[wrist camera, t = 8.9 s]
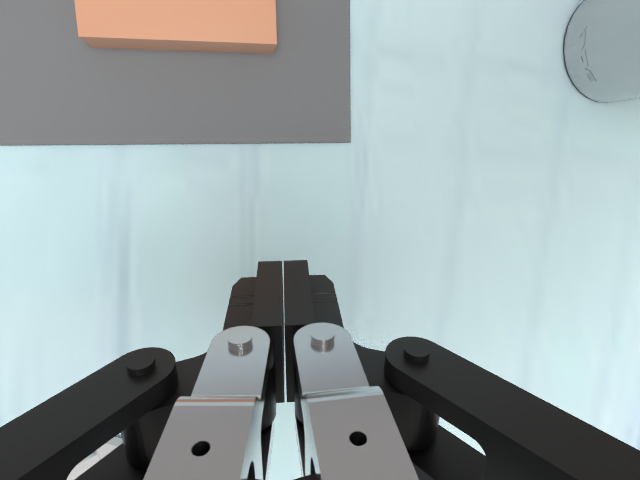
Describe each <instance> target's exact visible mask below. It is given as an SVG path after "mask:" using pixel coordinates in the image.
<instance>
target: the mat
mask: <svg viewBox="0 0 640 480" xmlns="http://www.w3.org/2000/svg"><path fill="white" fill-rule="evenodd" d="M276 30H277V45H276V48H275V51H274V53H273V54H263V53H233V52H203V51H174V50H144V49H114V48H91V47H90V46H89V45H88V44H86V43H85V42H84V41H83V40H82V39H81V38H79V37H78V29H77V19H76V10H75V1H74V0H0V145H108V144H227V143H347V142H351V126H350V0H276Z"/></svg>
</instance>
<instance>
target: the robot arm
mask: <svg viewBox="0 0 640 480" xmlns="http://www.w3.org/2000/svg"><path fill="white" fill-rule="evenodd" d="M564 53H565V63H566V67H567V70H568V74H569V76H570V78H571V80H572V82H573V84H574V85H575V86H576V87H577V88H578V90H579V91H580V92H581V93H582V94H584V95H585V96H586V97H588V98H590V99H592V100H595V101H597V102H605V103H608V102H616V101H622V100H628V99H634V98H640V0H584V1H583V2H582V3H581V4H580V6H579V7H578V9H577V10H576V11H575V13H574V14H573V16H572V19H571V21H570V23H569V25H568V29H567V33H566V37H565V47H564ZM284 310H285V353H286V386H287V402H295V429H296V437H297V444H298V452H299V460H300V467H301V475H302V477H301V478H298V479H294V480H640V451H639V450H637V449H635V448H634V447H632V446H630V445H628V444H626V443H624V442H622V441H620V440H618V439H616V438H614V437H613V436H611V435H609V434H607V433H605V432H603V431H601V430H599V429H597V428H595V427H594V426H592V425H590V424H588V423H586V422H584V421H582V420H580V419H578V418H576V417H575V416H573V415H571V414H569V413H567V412H565V411H563V410H561V409H559V408H557V407H556V406H554V405H552V404H550V403H548V402H546V401H544V400H542V399H540V398H538V397H536V396H535V395H533V394H531V393H529V392H527V391H525V390H523V389H521V388H519V387H517V386H516V385H514V384H512V383H510V382H508V381H506V380H504V379H502V378H500V377H498V376H497V375H495V374H493V373H491V372H489V371H487V370H485V369H483V368H481V367H479V366H477V365H476V364H474V363H472V362H470V361H468V360H466V359H464V358H462V357H460V356H458V355H457V354H455V353H453V352H451V351H449V350H447V349H445V348H443V347H441V346H439V345H438V344H436V343H434V342H432V341H429V340H427V339H423V338H419V337H402V338H398V339H395V340H393V341H392V342H390V343H389V344H388V346H387V348H386V352H385V351H379V350H373V349H368V348H365V347H362V346H360V345H357V344H356V343H354V342H353V341H352V338H351V336H350V334H349V333H348V332H347V331H346V330H345V329H344V328H343V323H342V319H341V315H340V310H339V306H338V302H337V297H336V294H335V289H334V284H333V282H332V281H331V280H329V279H328V278H327V277H326V276H325V275H309V271H308V263H307V260H295V261H284ZM282 402H284V311H283V278H282V261H263V262H258V269H257V277H249V278H241V279H240V280H239V281H238V282H236V283H235V284H234V285H233V287H232V291H231V296H230V300H229V306H228V309H227V314H226V319H225V323H224V328H223V331H222V332H220V333H219V334H217V335H216V336H215V337H214V338H213V340H212V341H211V344H210V346H209V349H208V352H206V353H204V354H202V355H200V356H197V357H194V358H190V359H186V360H182V361H179V362H175V357H174V355H173V354H172V353H171V352H170V351H168V350H166V349H162V348H156V347H150V348H142V349H138V350H135V351H132V352H129V353H127V354H125V355H123V356H121V357H120V358H118V359H116V360H115V361H113V362H111V363H109V364H108V365H106V366H104V367H103V368H101V369H99V370H98V371H96V372H94V373H92V374H91V375H89V376H87V377H86V378H84V379H82V380H80V381H79V382H77V383H75V384H74V385H72V386H70V387H68V388H67V389H65V390H63V391H62V392H60V393H58V394H57V395H55V396H53V397H51V398H50V399H48V400H46V401H45V402H43V403H41V404H39V405H38V406H36V407H34V408H33V409H31V410H29V411H27V412H26V413H24V414H22V415H21V416H19V417H17V418H16V419H14V420H12V421H10V422H9V423H7V424H5V425H4V426H2V427H0V480H67V478H68V476H69V474H70V473H71V471H72V470H73V469H74V467H75V466H76V465H77V464H79V463H80V462H81V461H82V460H84V459H85V458H86V457H88V456H89V455H90V454H92V453H93V452H95V451H96V450H97V449H99V448H100V447H101V446H103V445H104V444H105V443H107V442H108V441H109V440H111V439H112V438H114V437H115V436H116V435H118V434H119V433H120V432H121V436H122V440H123V443H122V444H121V445H119V446H118V447H117V448H115V449H114V450H113V451H111V452H110V453H109V454H107V455H106V456H105V457H103V458H102V459H101V460H99V461H98V462H97V463H96V464H94V465H93V466H92V467H90V468H89V469H88V470H86V471H85V472H84V473H82V474H81V475H80V476H78V477H77V478H76V479H74V480H268V478H269V469H270V460H271V452H272V443H273V434H274V418H275V416H276V403H282ZM439 416H440V417H441V418H443V419H444V420H446V421H447V422H449V423H450V424H452V425H453V426H455V427H456V428H458V429H459V430H461V431H463V432H464V433H466V434H467V435H469V436H470V437H472V438H473V439H474V440H476V441H477V442H478V443H479V445H480V446H481V447H482V449H483V450H484V452H485V454H486V456H485V455H483V454H482V453H480V452H479V451H477V450H476V449H474V448H473V447H471V446H470V445H468V444H467V443H465V442H464V441H462V440H461V439H459V438H458V437H456V436H455V435H453V434H452V433H450V432H449V431H447V430H446V429H444V428H443V427H441V426H440V425H438V423H439Z"/></svg>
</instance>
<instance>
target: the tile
mask: <svg viewBox="0 0 640 480" xmlns="http://www.w3.org/2000/svg"><path fill="white" fill-rule="evenodd" d="M74 1H75V10H76V19H77V29H78V37H79V38H81V39H82V40H83V41H84V42H85V43H86V44H88V45H89V46H90V47H91V48H114V49H144V50H174V51H203V52H233V53H263V54H273V53H274V51H275V48H276V45H277V30H276V0H74Z"/></svg>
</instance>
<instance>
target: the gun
mask: <svg viewBox="0 0 640 480" xmlns="http://www.w3.org/2000/svg"><path fill="white" fill-rule="evenodd" d="M122 443H123V440H122V438H119V437H116V436H115V437H114V438H112V439H111V440H109V441H108V442H107V443H105V444H104V445H103V446H101V447H100V448H99V449H97V450H96V452H95V453H93V454H91V455H89V456H88V457H86V458H85V459H84V460H82V461H81V462H80V463H79V464H77V465H76V466H75V467H74V469H73V470H72V471H71V473H70V474H69V476H68V478H67V480H74V479H76V478H77V477H78V476H80V475H81V474H82V473H84V472H85V471H86V470H88V469H89V468H90V467H92V466H93V465H94V464H96V463H97V462H98V461H99V460H101V459H102V458H103V457H105V456H106V455H107V454H109V453H110V452H111V451H113V450H114V449H115V448H117V447H118V446H119V445H121V444H122Z"/></svg>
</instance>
